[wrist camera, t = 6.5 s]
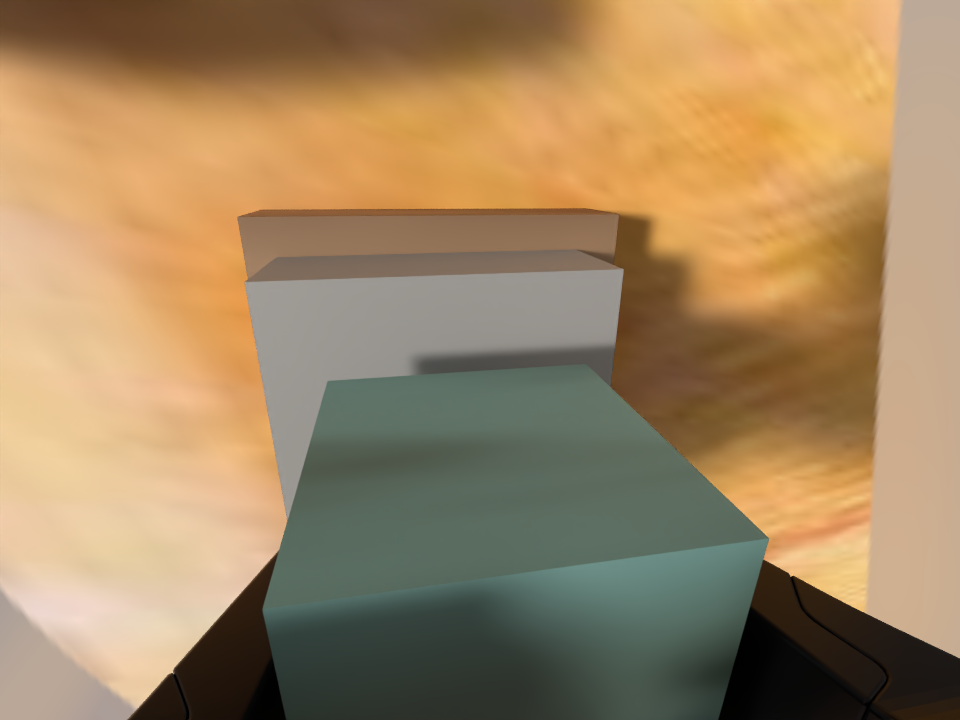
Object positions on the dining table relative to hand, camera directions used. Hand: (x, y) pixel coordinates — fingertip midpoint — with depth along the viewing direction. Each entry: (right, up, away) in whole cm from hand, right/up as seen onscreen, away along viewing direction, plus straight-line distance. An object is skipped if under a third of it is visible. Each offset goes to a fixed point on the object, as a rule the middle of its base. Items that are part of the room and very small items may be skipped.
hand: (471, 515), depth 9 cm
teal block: (0, 0, +1) cm, 1 cm away
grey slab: (-1, +2, +5) cm, 6 cm away
